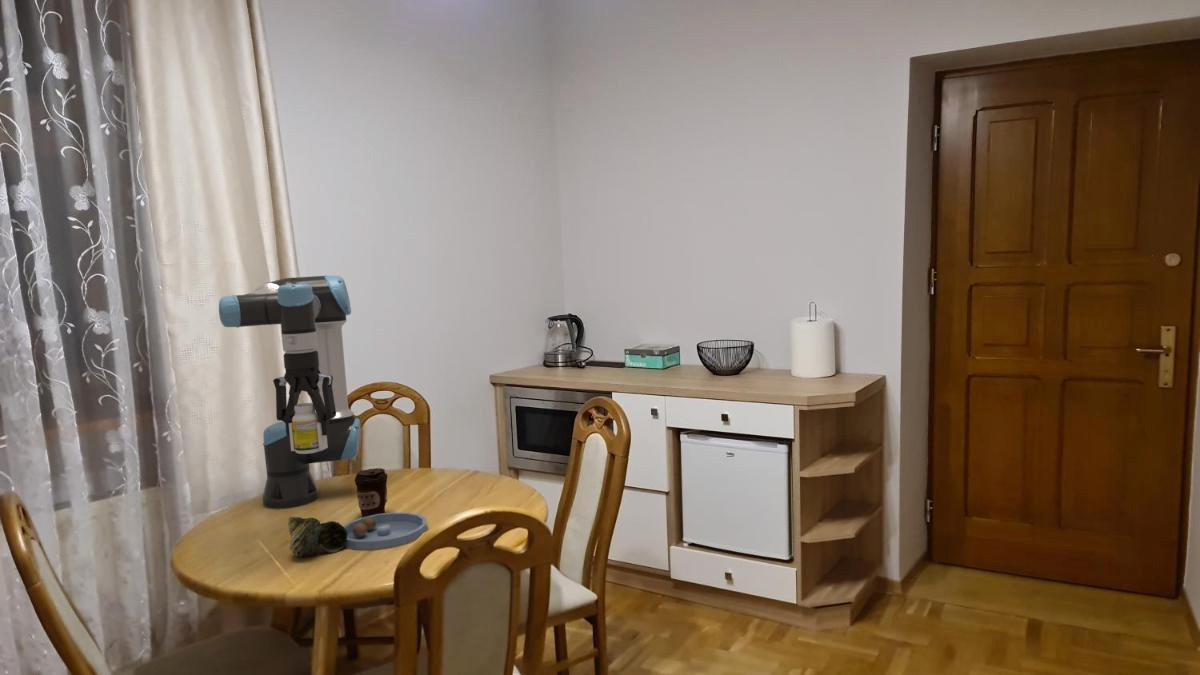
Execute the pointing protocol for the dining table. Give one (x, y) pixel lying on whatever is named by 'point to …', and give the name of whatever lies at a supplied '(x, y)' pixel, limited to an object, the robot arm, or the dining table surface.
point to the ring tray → (397, 529)
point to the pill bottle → (305, 429)
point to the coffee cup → (371, 491)
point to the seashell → (315, 536)
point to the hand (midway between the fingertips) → (309, 449)
